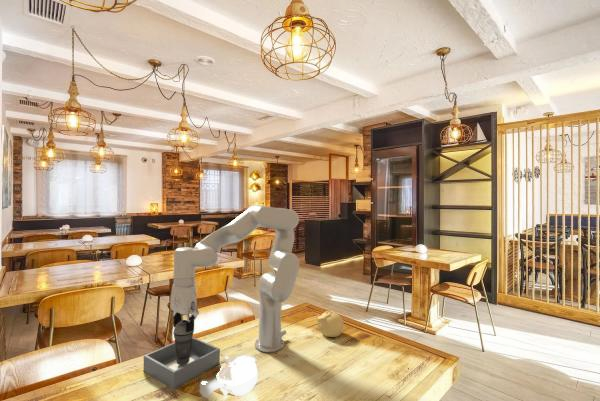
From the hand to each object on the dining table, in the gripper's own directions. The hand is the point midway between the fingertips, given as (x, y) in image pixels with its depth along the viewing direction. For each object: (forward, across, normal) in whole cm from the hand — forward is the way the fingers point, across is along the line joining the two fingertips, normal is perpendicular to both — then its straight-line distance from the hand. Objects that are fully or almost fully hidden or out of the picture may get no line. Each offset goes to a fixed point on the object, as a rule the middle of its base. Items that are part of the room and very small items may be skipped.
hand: (183, 328), depth 119 cm
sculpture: (+16, +31, +59) cm, 68 cm away
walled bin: (+15, 0, 0) cm, 15 cm away
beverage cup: (+13, 0, 0) cm, 13 cm away
